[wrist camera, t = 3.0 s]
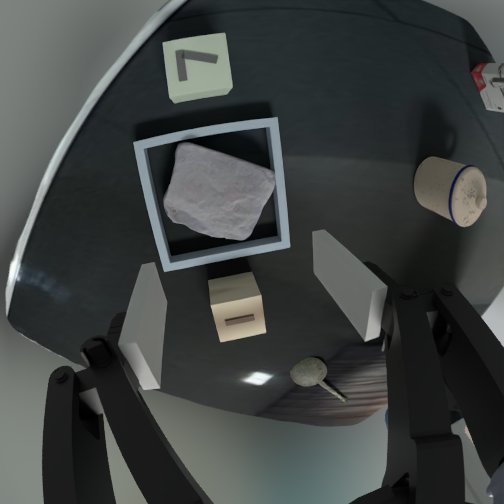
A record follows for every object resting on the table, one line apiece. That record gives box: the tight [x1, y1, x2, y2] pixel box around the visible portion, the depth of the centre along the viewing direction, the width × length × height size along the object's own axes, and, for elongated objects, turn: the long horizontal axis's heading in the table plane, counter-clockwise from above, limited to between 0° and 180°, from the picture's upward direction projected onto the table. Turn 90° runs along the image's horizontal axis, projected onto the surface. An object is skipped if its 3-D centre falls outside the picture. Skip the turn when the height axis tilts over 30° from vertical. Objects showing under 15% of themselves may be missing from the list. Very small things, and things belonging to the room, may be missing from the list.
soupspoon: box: [290, 357, 348, 404], centre depth 52 cm, size 22×3×7 cm
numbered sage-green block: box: [163, 33, 233, 103], centre depth 25 cm, size 6×6×6 cm
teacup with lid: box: [414, 157, 487, 227], centre depth 33 cm, size 12×9×12 cm
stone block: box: [163, 142, 276, 240], centre depth 33 cm, size 12×5×10 cm
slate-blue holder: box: [133, 117, 290, 272], centre depth 33 cm, size 16×16×2 cm
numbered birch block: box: [208, 272, 266, 342], centre depth 37 cm, size 6×6×6 cm
